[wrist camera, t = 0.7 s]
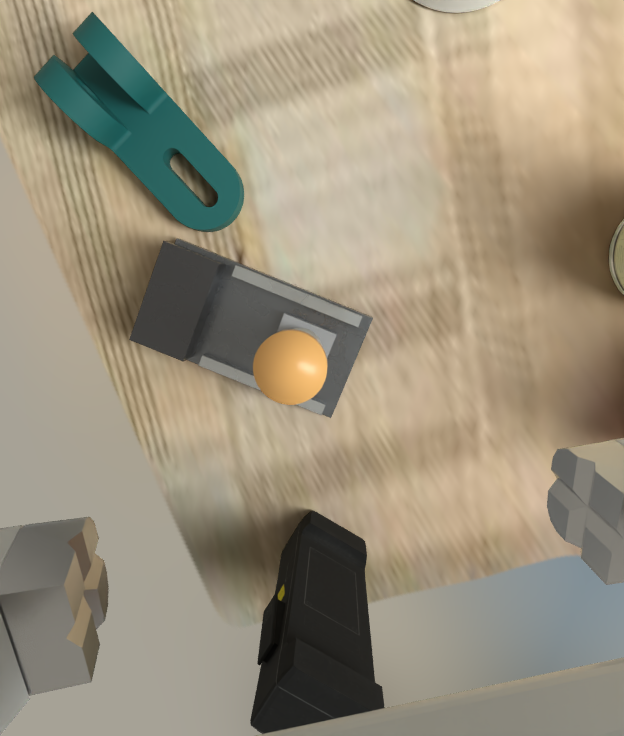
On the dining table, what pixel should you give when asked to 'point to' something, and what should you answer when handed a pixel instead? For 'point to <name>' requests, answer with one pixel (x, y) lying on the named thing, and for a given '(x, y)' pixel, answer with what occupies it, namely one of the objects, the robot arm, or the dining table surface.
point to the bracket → (141, 126)
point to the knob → (293, 361)
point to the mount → (237, 317)
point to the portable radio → (316, 632)
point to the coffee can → (617, 257)
